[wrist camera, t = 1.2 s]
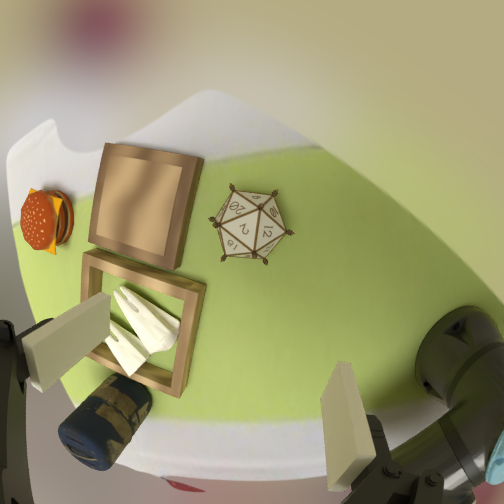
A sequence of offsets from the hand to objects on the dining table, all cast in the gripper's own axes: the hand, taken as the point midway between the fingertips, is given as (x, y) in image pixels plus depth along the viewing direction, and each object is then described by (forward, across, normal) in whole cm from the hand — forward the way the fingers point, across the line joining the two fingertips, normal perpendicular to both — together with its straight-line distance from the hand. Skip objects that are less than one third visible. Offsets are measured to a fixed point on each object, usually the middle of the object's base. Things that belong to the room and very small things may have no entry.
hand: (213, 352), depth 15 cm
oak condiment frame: (+22, +15, +14) cm, 30 cm away
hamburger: (+22, +34, +2) cm, 40 cm away
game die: (+22, +2, -4) cm, 22 cm away
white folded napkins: (+22, +15, +14) cm, 30 cm away
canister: (+22, +16, +29) cm, 40 cm away
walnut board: (+22, +16, -4) cm, 28 cm away
